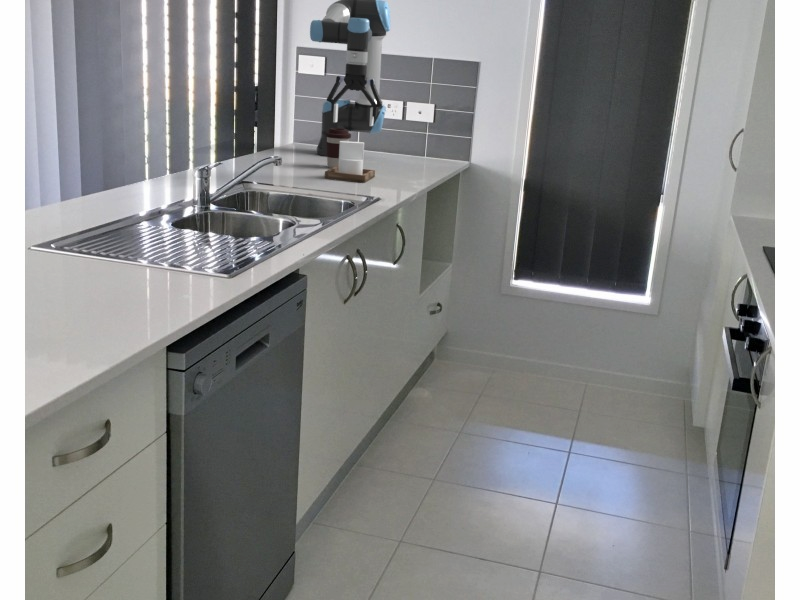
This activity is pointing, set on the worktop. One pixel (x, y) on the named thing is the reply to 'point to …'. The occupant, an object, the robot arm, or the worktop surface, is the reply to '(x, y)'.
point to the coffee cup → (335, 144)
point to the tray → (349, 175)
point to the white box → (351, 157)
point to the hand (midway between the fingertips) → (353, 124)
